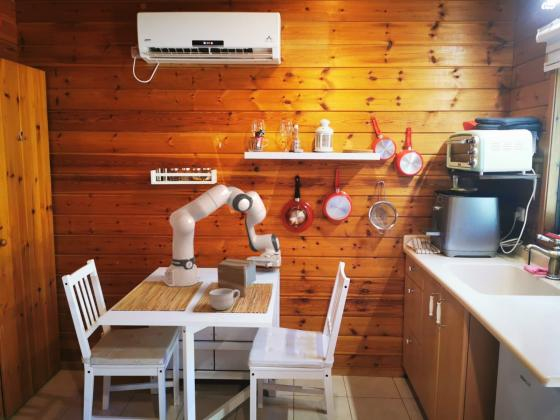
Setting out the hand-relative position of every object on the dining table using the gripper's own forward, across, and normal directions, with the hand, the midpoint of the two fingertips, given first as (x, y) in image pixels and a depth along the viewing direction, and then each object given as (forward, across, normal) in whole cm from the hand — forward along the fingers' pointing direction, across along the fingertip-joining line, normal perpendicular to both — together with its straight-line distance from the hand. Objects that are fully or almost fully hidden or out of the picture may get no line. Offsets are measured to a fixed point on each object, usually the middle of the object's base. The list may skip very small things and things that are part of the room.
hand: (258, 265), depth 252 cm
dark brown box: (+31, 0, +6) cm, 32 cm away
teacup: (+53, +4, +6) cm, 54 cm away
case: (+16, 0, +6) cm, 17 cm away
